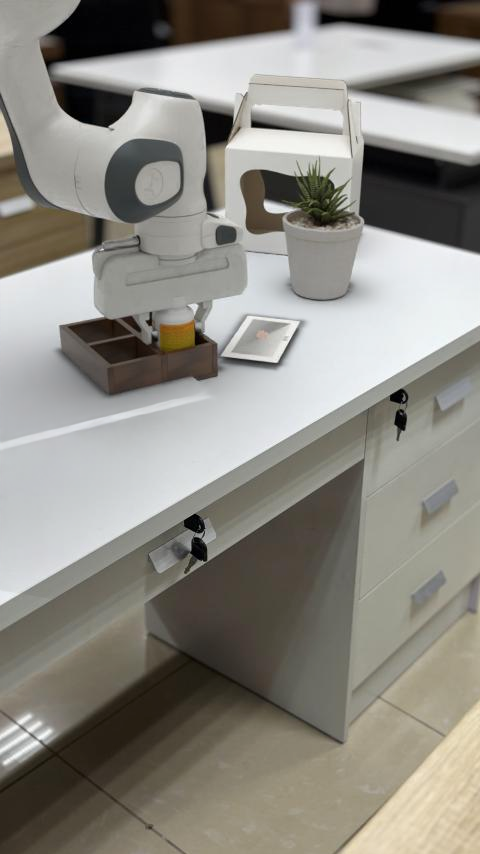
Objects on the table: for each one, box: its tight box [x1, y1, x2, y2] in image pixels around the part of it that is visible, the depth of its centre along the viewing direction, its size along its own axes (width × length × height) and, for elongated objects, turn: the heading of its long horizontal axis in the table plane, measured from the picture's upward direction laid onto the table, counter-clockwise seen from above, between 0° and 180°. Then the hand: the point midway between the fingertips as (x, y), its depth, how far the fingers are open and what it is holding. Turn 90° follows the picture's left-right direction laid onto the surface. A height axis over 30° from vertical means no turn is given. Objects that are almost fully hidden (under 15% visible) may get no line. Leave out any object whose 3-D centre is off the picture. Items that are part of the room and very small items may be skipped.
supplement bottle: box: [152, 296, 195, 353], centre depth 122 cm, size 5×5×10 cm
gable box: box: [224, 73, 365, 256], centre depth 164 cm, size 22×13×28 cm, turn 77°
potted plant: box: [280, 157, 365, 301], centre depth 147 cm, size 13×14×20 cm
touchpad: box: [220, 315, 301, 364], centre depth 133 cm, size 8×15×2 cm, turn 167°
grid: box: [58, 312, 219, 396], centre depth 125 cm, size 15×15×5 cm
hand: (174, 337), depth 123 cm, fingers closed on supplement bottle, 5 cm apart
